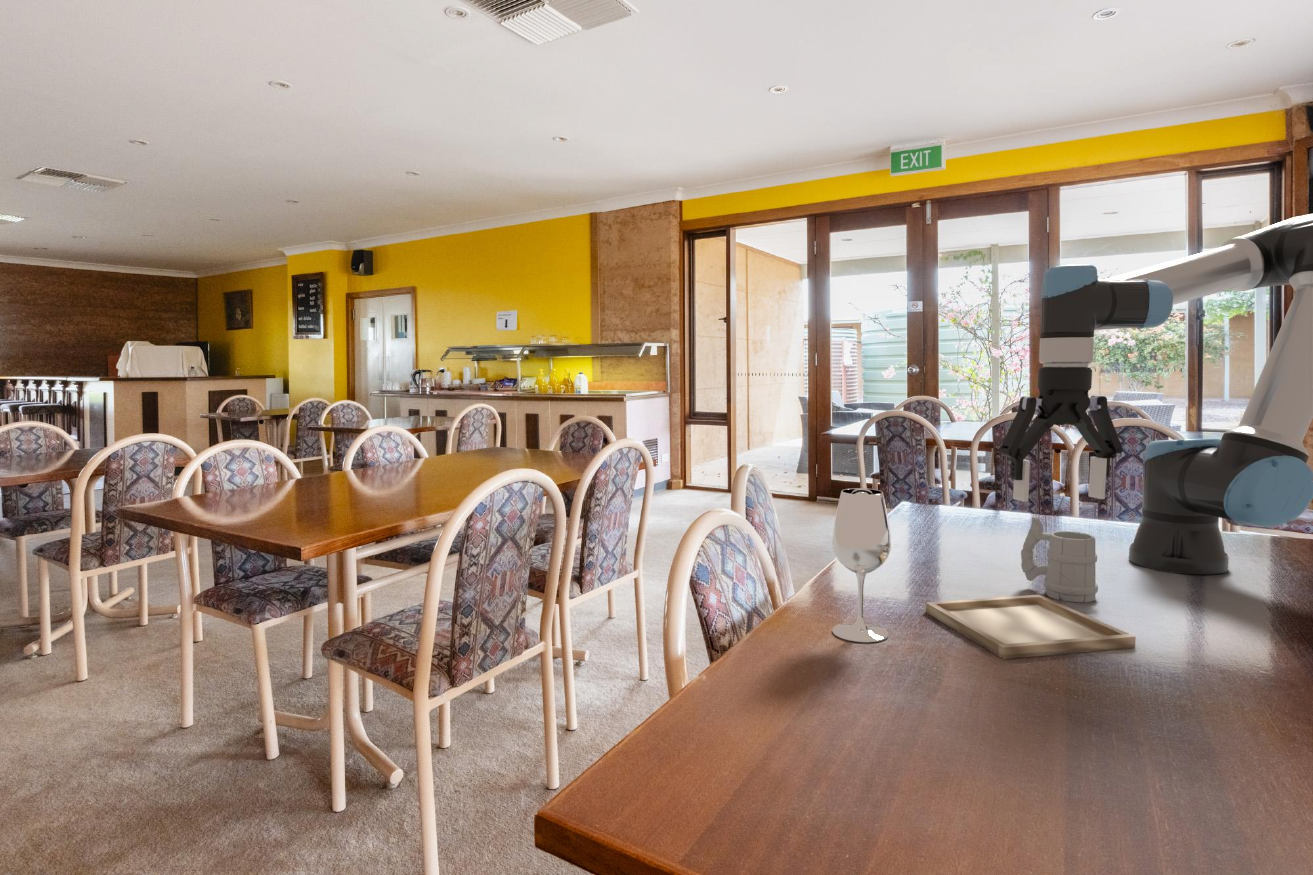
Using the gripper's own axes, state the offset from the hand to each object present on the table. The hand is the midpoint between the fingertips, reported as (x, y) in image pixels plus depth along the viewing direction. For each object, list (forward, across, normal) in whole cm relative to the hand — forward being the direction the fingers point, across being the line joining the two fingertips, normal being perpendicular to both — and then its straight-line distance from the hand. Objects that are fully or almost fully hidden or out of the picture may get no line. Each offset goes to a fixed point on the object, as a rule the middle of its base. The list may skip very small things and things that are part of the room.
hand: (1058, 499), depth 124 cm
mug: (+16, 0, 0) cm, 16 cm away
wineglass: (+16, +39, +11) cm, 43 cm away
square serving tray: (+16, +16, +14) cm, 26 cm away
